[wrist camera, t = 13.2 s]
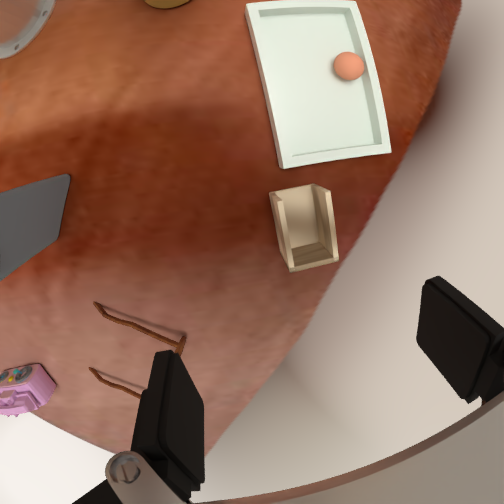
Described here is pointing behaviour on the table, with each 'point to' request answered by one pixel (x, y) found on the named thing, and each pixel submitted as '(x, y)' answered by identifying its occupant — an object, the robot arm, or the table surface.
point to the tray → (317, 81)
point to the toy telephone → (24, 389)
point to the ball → (348, 65)
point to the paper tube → (165, 3)
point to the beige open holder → (305, 226)
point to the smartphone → (30, 220)
